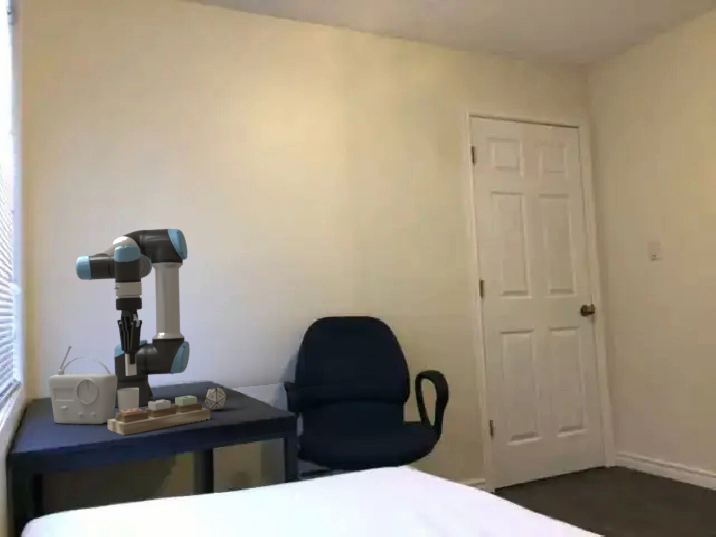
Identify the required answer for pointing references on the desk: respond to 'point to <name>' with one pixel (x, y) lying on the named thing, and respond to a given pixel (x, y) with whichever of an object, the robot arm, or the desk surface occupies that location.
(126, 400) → the drinking glass
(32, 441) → the desk surface
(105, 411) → the radio
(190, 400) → the button one dot
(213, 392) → the game die
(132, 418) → the button console
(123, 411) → the button three dots
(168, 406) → the button two dots
